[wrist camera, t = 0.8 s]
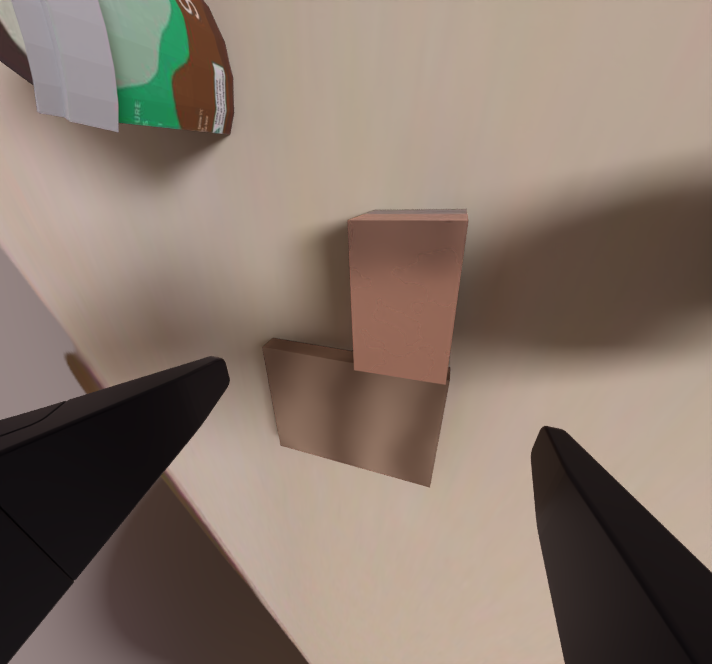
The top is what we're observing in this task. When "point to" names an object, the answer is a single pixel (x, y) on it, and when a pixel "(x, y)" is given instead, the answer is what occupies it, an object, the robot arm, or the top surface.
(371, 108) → the top surface
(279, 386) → the walnut stand
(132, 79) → the food container
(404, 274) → the block
